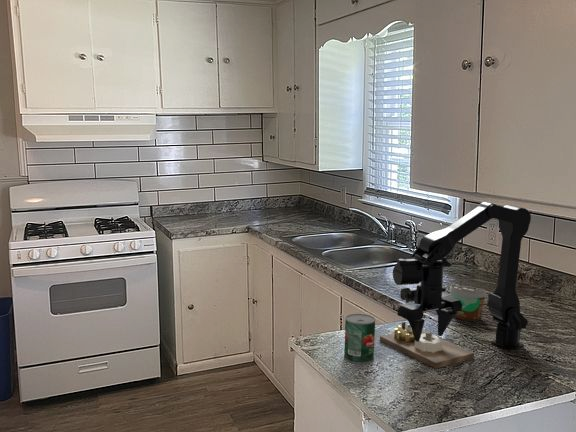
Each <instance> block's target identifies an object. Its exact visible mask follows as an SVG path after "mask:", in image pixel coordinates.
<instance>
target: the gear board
mask: <svg viewBox="0 0 576 432" xmlns="http://www.w3.org/2000/svg"><path fill="white" fill-rule="evenodd" d="M422 334H426V340H429V341H431V336H432V332H430V331H425V330H422ZM379 342H381V343H383V344H384V345H388V346H389V347H390V348H393V349H395V350H397V351H399V352H401V353H403V354H405V355H408V356H409V357H411V358H414V359H415V360H417V361H419V362H421V363H424V364H425V365H427V366H430V367H431V368H434V369H435V370H437V369H440V368H443V367H446V366H450V365H454V364H457V363H461V362H465V361H468V360H469V361H470V360H472V359H475V352H473V351H471V350H468V349H467V348H464V347H462V346H459V345H457V344H455V343H453V342H449V341H448V340H445V339H443V347H442V351H436V352H434V353H432V352H427V351H425V352H423V351H421V350H419V349H417V348H415V347H414V346H415V341H414V342H405V341H402V340H397V337H394V332H392V333H388V334H384V335H380V336H379Z"/></svg>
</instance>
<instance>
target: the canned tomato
mask: <svg viewBox="0 0 576 432" xmlns="http://www.w3.org/2000/svg"><path fill="white" fill-rule="evenodd" d="M344 319H345V321H344V323H345V324H344V346H343V347H344V350H343V351H344V354H343V359H344V360H346V362H348V363H351V364H357V365H365V364H369V363H372V362H373V361H374V360H375V357H374V356H375V334H376V333H375V332H376V318H375V317H374V316H372V315H371V314H370V315H369V314H363V313H352V314H347V315H346V316H345V318H344Z"/></svg>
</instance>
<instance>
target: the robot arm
mask: <svg viewBox="0 0 576 432" xmlns="http://www.w3.org/2000/svg"><path fill="white" fill-rule="evenodd" d="M492 219H495V220H497V222H498V228H499V231H500V233H501V234H500V235H501V237H502V238H501V239H502V241H501V242H502V243H501V250H500V257H499V259H500V260H499V269H498V276H497V277H498V278H497V286H496V289H494V291H493V292H492V291H491V292H488V294H487V296H488V300H487V303H486V306H487V307H488V312H489V313H490V314H491V315H492V319H493V321H496V322H498V323H497V325H496V330H495V339H494V340H492V341H491V342H490V343H491V344H493V345H496V346H498V347H500V348H503V349H505V350H508V351H512V350H515V349H519V348H523V347H525V343H521V342H520V341H521V331H522V329H527V325H528V323H529V321H528V319H526V318H525V316H524V315H523V314H522V313H521V304H520V303H521V302H520V298H519V295H518V293H517V282H518V273H519V271H518V270H519V267H520V256H521V249H522V248H521V246H522V240H523V238H524V237H525V236H526V234H527V232H528V231H529V228H530V224H531V219H532V215H531V212H529V210H528V209H526V208H525V207H520V206H515V205H513V204H512V205H511V204H507V205H504V206H500V205H497V204H495V203H493V202H488V201H484V202H481V203H479V205H478V206H477V207H475V208H473V210H471V211H470V212H468V213H467V214H465V215H464V216H462V217H461V218H459V219H458V220H456V221H454V223H451V224H450V225H449V226H447V227H446V228H442V229H440V230H439V229H438V230H436V231H433V232H431V233H429V234H425V235H424V236H422V238H421V239H420V240H419V245H418V246H417V248H416V249H415V250H414V252H413V253H412V254H411V256H410V258H406V259H405V258H397V259H396V263H395V264H394V266H393V269H392V278H393V281H394V283H395V284H396V285H397V286H405V285H416V288H415V289H412V290H411V289H410V287H405V288H401V289H400V296H399V297H400V299H401V300H402V301H405V304H400V305H399V306H398V307H397V316H399V317H402V318H404V319H405V320H406V321H407V322H408V324H410V326H411V329H412V332H413V335H414V338H415V341H417V342H419V340H420V337H421V333H422V331H423V328H424V325H425V319H424V318H423V317H424V314H425V313H429V312H434V311H435V313H436V315H437V335H438V337H442V336H443V335H444V333H445V331H446V330H447V328H448V327H449V325H450V324H451V322H452V320H453V319H454V318H455V317H454V316H455V315H457V312H458V311H462V303H461V301H460V300H458V299H455V298H452V297H451V296H449V295H447V296H443V293H444V292H447V291H446V290H447V288H446V287H444V286H443V284H444V282H443V281H444V268H449V267H452V263H450V262H449V261H448V260H447V258H446V257H447V256H448V255H449V254H450V253H451V252H453V250H454V248H455V247H456V245H457V243H459V242H460V241H461V240H463V239H464V238H465V237H467V236H469V235H470V234H471V233H473V232H474V231H476V230H477V229H479V228H480V227H482V226H483V225H485V224H486V223H487V222H489V221H491V220H492ZM410 302H414V304H413V303H410ZM415 304H416V305H415Z"/></svg>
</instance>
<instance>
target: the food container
mask: <svg viewBox="0 0 576 432" xmlns="http://www.w3.org/2000/svg"><path fill="white" fill-rule="evenodd" d="M449 293H450V297H452V298H455V299H458V300H460V301H461V303H462V311H458V312H457V315H455V316H454V318H455V319H457V318H458V319H457V320H460V319H461V320H460V321H467V322H468V321H469V322H474V321H480V320H481V319H482V316H483V309H484V304H485V298H487V296H488V294H487V290H486V289H483V290H476V289H474V288H471V287H462V286H456V285H454V282H452V283H451V285H450V286H449Z"/></svg>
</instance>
